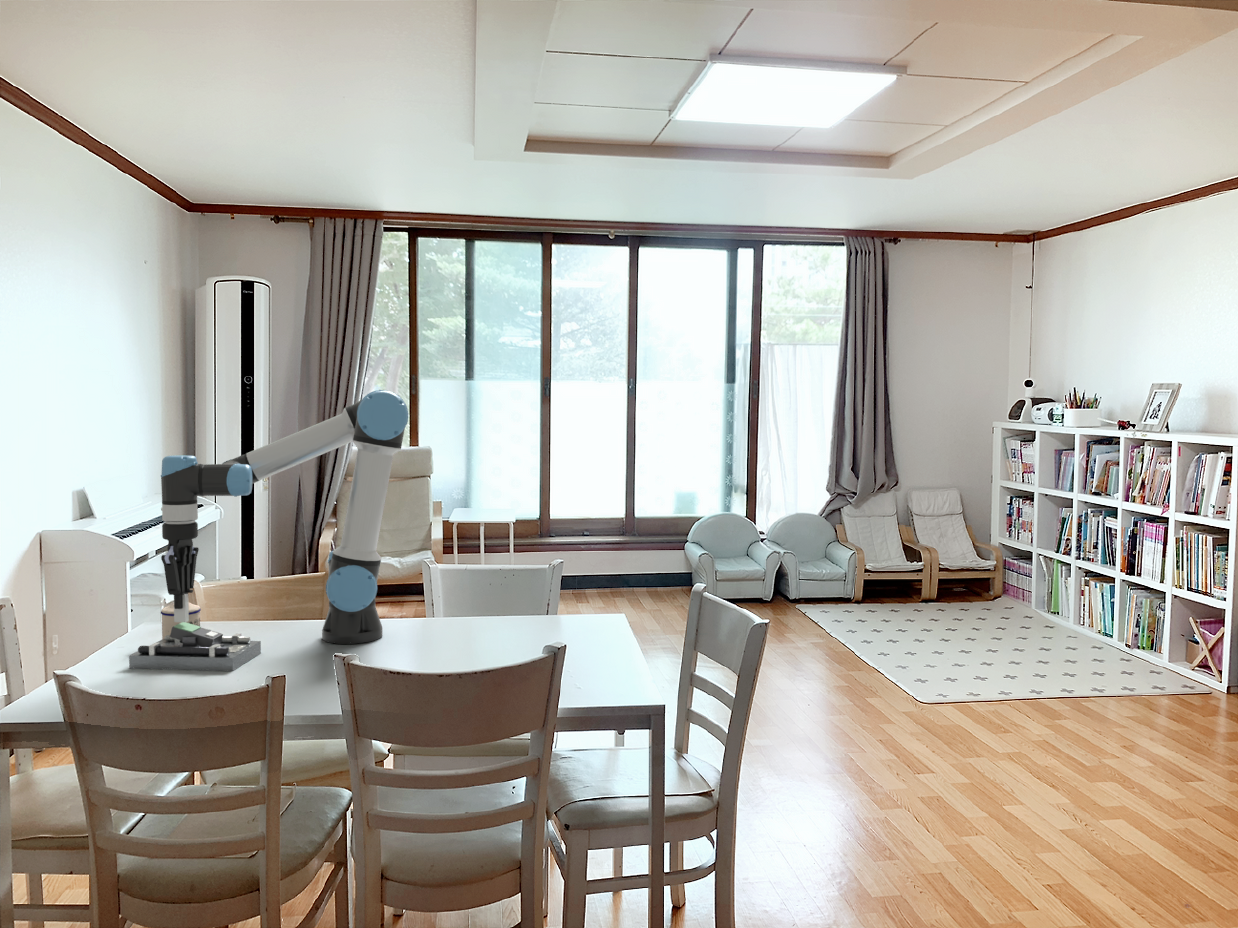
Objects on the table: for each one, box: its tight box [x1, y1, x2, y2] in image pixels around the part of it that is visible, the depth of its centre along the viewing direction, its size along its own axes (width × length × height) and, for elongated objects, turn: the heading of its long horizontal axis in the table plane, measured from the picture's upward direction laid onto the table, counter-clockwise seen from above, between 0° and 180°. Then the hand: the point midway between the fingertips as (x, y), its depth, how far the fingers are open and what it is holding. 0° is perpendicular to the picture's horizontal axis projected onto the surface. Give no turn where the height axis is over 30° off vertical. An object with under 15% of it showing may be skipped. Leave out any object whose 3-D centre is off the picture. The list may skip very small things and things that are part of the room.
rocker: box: [170, 622, 224, 647], centre depth 219 cm, size 10×5×3 cm, turn 88°
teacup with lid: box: [160, 601, 202, 640], centre depth 235 cm, size 12×9×12 cm
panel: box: [128, 633, 262, 672], centre depth 220 cm, size 24×15×6 cm, turn 88°
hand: (181, 621), depth 219 cm, fingers closed
